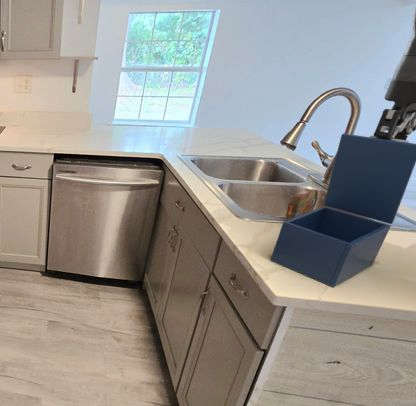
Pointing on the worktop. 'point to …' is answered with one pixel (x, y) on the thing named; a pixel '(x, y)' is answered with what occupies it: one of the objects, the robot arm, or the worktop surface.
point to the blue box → (329, 244)
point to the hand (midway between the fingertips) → (386, 153)
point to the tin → (301, 203)
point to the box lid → (370, 176)
